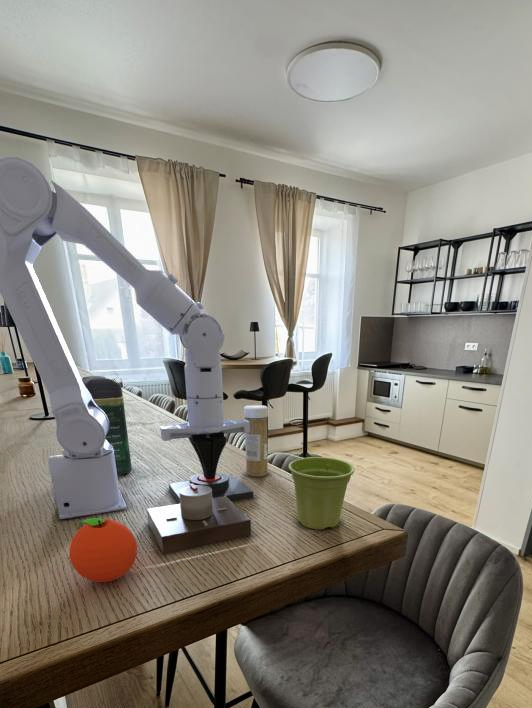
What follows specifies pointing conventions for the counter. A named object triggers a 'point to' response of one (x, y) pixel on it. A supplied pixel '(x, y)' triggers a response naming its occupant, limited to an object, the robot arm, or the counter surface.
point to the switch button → (209, 479)
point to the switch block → (216, 487)
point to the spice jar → (256, 440)
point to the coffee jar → (112, 417)
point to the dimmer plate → (197, 526)
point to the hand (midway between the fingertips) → (209, 477)
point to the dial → (196, 502)
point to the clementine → (102, 550)
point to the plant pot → (320, 489)
